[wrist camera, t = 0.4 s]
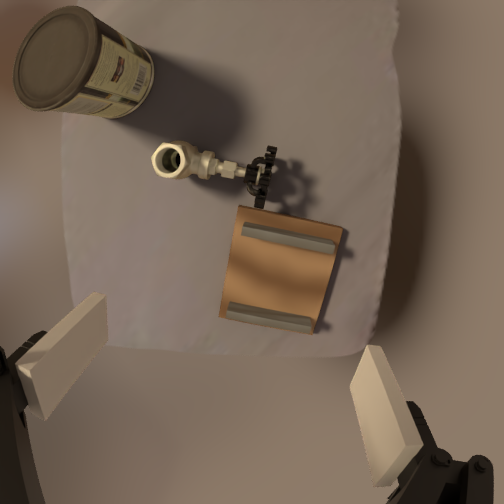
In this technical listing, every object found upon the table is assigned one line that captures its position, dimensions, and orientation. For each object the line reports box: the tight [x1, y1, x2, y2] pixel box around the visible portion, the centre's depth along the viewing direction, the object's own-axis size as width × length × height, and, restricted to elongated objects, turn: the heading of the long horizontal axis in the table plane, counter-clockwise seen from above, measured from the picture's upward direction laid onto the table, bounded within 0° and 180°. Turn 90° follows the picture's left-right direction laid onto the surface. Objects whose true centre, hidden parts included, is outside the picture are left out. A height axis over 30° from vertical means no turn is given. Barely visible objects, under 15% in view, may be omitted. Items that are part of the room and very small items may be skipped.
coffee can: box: [12, 6, 154, 119], centre depth 27 cm, size 10×10×14 cm
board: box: [219, 205, 343, 335], centre depth 37 cm, size 14×12×4 cm
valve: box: [151, 140, 277, 209], centre depth 33 cm, size 7×7×12 cm
